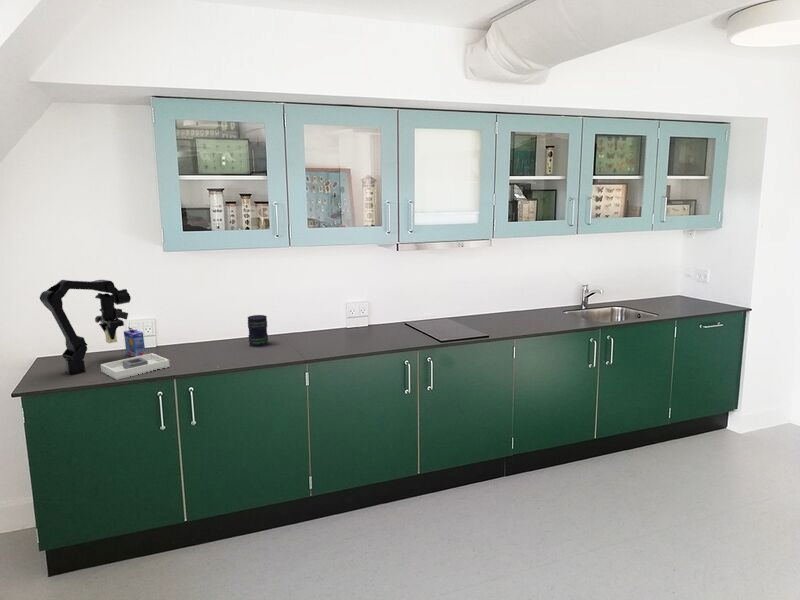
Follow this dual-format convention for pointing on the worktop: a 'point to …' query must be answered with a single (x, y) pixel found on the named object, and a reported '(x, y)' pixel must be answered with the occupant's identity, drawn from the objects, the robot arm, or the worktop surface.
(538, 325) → the worktop surface
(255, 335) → the storage jar
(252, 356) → the worktop surface
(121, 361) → the walled box
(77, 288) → the robot arm
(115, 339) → the peg
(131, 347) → the ink cartridge box
